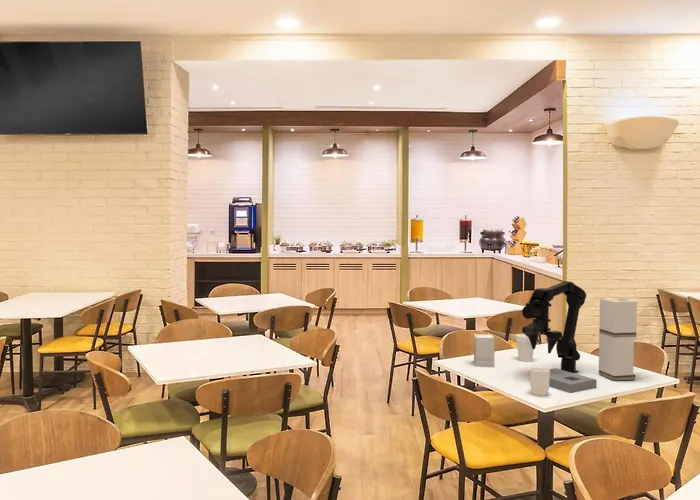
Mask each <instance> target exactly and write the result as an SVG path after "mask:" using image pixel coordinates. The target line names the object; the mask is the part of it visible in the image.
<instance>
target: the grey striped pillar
mask: <svg viewBox="0 0 700 500" xmlns="http://www.w3.org/2000/svg"><path fill="white" fill-rule="evenodd" d="M637 320H638V300H633V299H632V300H631V299H627V298H622V297H621V298H620V297H619V299H618V300H610V299H605V298H599V326H598V327H599V330H598V333H599V334H598V375H600V376H602V377H605V378H607V379H609V380H612V381H631V380H633V381H634V380H636V378H637V377H636V374H634V363H635V362H634V358H635V357H634V356H635V355H634V354H635V353H634V352H635V351H634V349H635V348H634V347H635V341H637V328H638V327H637V325H638V324H637V323H638V322H637Z"/></svg>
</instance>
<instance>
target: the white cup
mask: <svg viewBox="0 0 700 500" xmlns="http://www.w3.org/2000/svg"><path fill="white" fill-rule="evenodd" d="M549 369H550V368H547V367H541V366H540V367H539V366H537V367H536V366H534V367H530V368H529V384H530V394H531V395H534V396H538V397H542V396H543V397H545V396H548V395H549V389H550V386H549V381H550V370H549Z"/></svg>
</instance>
